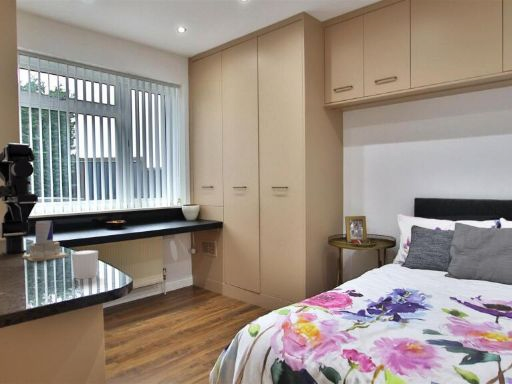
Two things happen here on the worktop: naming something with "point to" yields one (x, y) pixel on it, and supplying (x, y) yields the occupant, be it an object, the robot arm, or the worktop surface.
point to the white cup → (85, 264)
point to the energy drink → (44, 232)
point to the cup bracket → (44, 252)
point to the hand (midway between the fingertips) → (19, 221)
